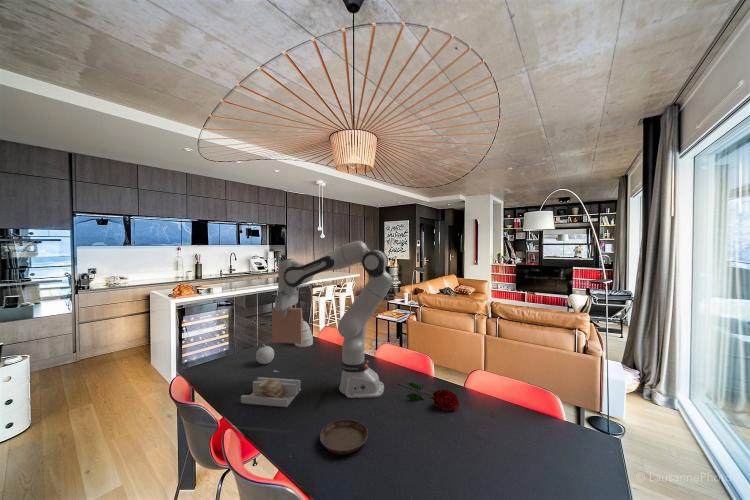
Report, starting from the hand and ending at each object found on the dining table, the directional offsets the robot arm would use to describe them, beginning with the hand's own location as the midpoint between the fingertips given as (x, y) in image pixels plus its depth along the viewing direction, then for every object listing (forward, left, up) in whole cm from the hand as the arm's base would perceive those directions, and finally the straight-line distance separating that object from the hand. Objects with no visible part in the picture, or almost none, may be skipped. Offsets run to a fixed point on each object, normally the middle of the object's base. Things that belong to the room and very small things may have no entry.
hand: (287, 315), depth 151 cm
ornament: (+24, -20, -35) cm, 47 cm away
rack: (0, +16, -35) cm, 39 cm away
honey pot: (+14, -56, -35) cm, 68 cm away
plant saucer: (-41, +40, -36) cm, 67 cm away
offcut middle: (0, +19, -32) cm, 37 cm away
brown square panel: (0, 0, -14) cm, 14 cm away
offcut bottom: (0, +19, -34) cm, 39 cm away
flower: (-72, +9, -36) cm, 81 cm away
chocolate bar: (+13, -1, -36) cm, 38 cm away
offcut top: (0, +19, -29) cm, 35 cm away
